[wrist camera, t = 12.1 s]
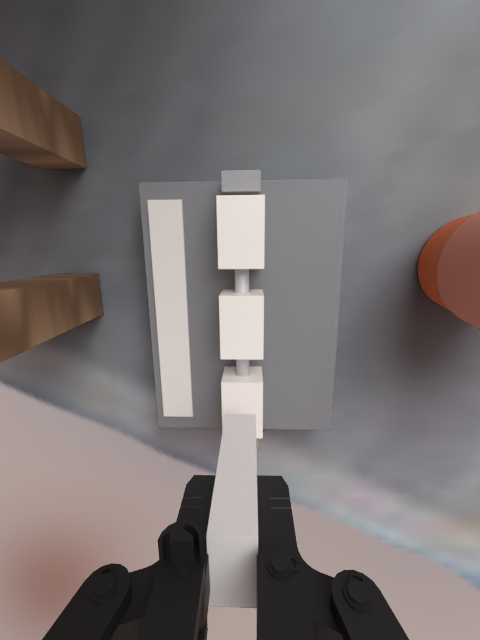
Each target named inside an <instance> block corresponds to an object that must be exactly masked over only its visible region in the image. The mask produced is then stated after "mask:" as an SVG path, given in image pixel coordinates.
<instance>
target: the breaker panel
mask: <svg viewBox="0 0 480 640" xmlns="http://www.w3.org/2000/svg"><path fill="white" fill-rule="evenodd" d="M348 179H349V178H347V179H291V180H261V170H223V171H221V181H178V182H139V194H140V206H141V219H142V231H143V243H144V255H145V268H146V280H147V292H148V304H149V317H150V329H151V341H152V353H153V366H154V378H155V390H156V402H157V415H158V427H159V428H222V399H221V381H222V376H223V372H224V367H225V366H236V359H220V322H219V295H220V293H221V292H222V290H223V289H235V269H218V244H217V206H216V195H265V247H264V269H249V289H263V293H264V351H263V360H249V366H259V367H262V374H263V429H300V430H331V423H332V409H333V395H334V380H335V366H336V351H337V337H338V323H339V308H340V294H341V280H342V265H343V251H344V236H345V222H346V208H347V193H348ZM256 449H259V438H256Z"/></svg>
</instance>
